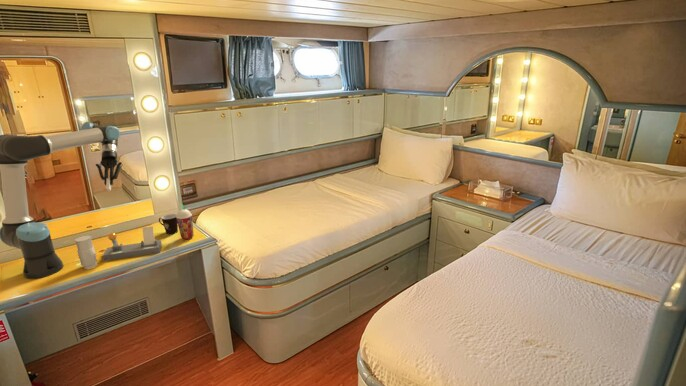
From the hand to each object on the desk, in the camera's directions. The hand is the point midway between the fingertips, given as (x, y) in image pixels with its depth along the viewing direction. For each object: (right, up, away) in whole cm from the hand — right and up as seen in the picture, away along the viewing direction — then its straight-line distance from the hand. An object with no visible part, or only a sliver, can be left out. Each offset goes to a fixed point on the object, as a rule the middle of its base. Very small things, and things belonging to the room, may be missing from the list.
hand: (108, 189), depth 203 cm
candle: (+2, -38, -17) cm, 42 cm away
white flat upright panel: (+23, -29, -2) cm, 38 cm away
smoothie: (+37, -28, +13) cm, 48 cm away
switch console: (+16, -33, -4) cm, 37 cm away
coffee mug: (+23, -25, +23) cm, 41 cm away
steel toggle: (+9, -31, -7) cm, 33 cm away
